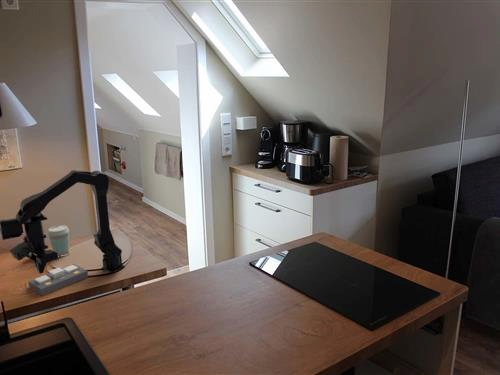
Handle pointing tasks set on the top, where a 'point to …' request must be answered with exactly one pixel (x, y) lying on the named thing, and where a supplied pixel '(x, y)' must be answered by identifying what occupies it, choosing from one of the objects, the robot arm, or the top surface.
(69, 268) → the button
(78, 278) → the button board
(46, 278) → the button
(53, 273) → the middle button
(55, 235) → the coffee cup
